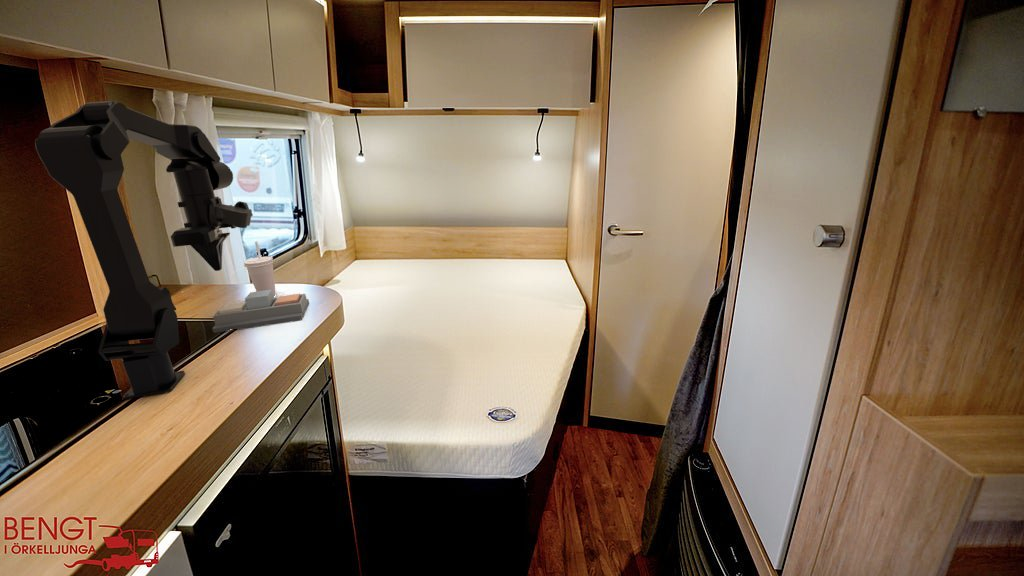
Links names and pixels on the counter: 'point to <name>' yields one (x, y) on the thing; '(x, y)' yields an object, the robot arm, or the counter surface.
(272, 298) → the key slate
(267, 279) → the smoothie
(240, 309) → the key ivory
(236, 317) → the keypad
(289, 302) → the key terracotta
